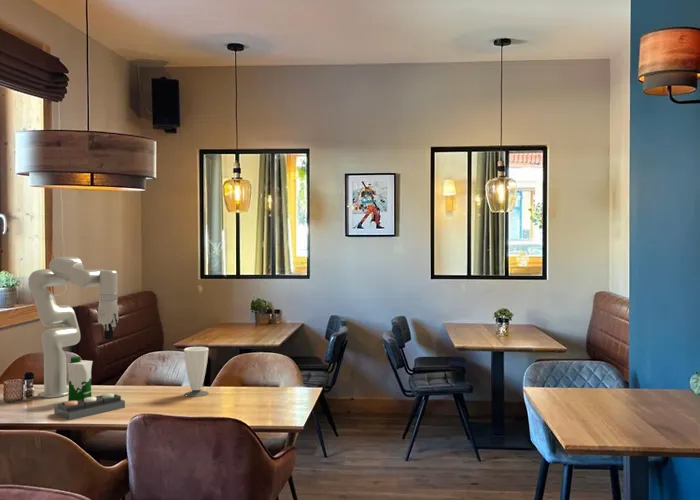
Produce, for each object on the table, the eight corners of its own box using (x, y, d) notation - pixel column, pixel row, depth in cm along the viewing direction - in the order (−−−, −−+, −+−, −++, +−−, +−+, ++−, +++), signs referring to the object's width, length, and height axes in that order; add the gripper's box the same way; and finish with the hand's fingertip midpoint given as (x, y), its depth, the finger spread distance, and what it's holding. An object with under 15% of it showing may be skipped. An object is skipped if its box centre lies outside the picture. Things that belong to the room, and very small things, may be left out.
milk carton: (77, 398, 273) (77, 355, 273) (95, 399, 271) (94, 356, 271) (64, 403, 264) (64, 359, 264) (82, 404, 262) (82, 359, 262)
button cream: (81, 403, 252) (81, 398, 252) (93, 400, 256) (93, 396, 256) (87, 405, 249) (87, 400, 249) (98, 402, 253) (98, 398, 253)
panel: (54, 413, 248) (54, 402, 248) (109, 402, 266) (109, 391, 266) (69, 420, 239) (69, 408, 239) (124, 407, 257) (124, 397, 257)
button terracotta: (62, 407, 246) (62, 402, 246) (74, 404, 250) (74, 399, 250) (68, 409, 243) (67, 404, 243) (80, 406, 247) (80, 401, 247)
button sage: (99, 399, 259) (99, 394, 259) (110, 397, 262) (110, 392, 262) (105, 401, 255) (105, 396, 255) (116, 399, 259) (116, 394, 259)
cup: (213, 393, 282) (213, 347, 282) (195, 398, 273) (195, 351, 272) (197, 389, 289) (196, 345, 288) (178, 394, 279) (178, 349, 279)
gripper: (92, 297, 264) (92, 338, 264) (108, 299, 254) (109, 342, 254) (108, 296, 270) (108, 336, 270) (125, 298, 260) (125, 340, 260)
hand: (108, 339), depth 262 cm, fingers closed
